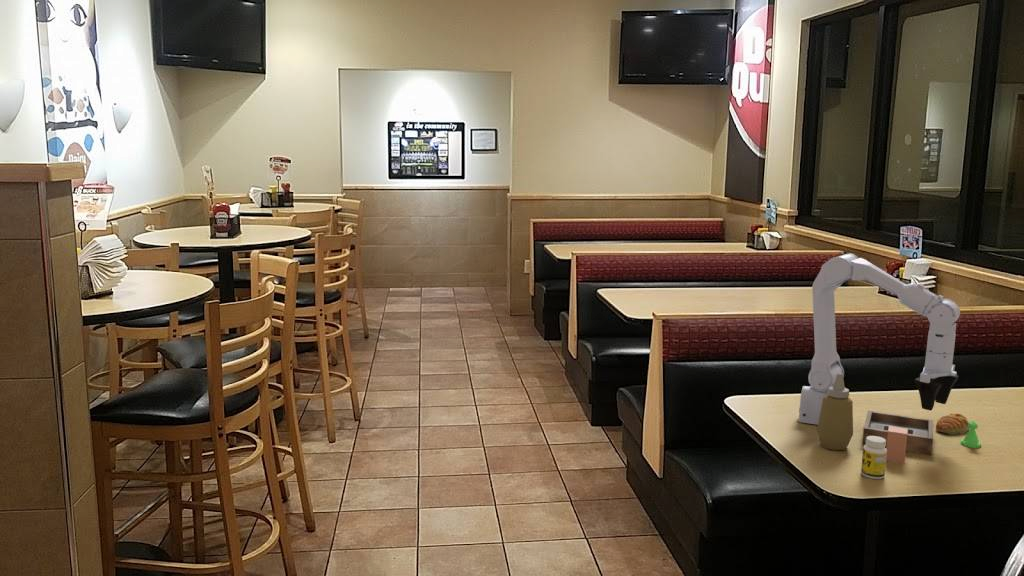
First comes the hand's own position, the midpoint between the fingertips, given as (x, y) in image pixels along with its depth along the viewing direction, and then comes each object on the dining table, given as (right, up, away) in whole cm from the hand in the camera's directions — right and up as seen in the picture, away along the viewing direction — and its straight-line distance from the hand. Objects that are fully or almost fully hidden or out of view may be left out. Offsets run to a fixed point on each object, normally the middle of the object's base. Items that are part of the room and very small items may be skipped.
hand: (933, 406), depth 196 cm
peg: (-13, -11, -7) cm, 18 cm away
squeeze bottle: (-24, -10, 0) cm, 26 cm away
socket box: (-6, -9, +5) cm, 12 cm away
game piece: (+10, -10, +3) cm, 15 cm away
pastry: (+11, -8, +13) cm, 19 cm away
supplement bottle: (-22, -13, -17) cm, 31 cm away
